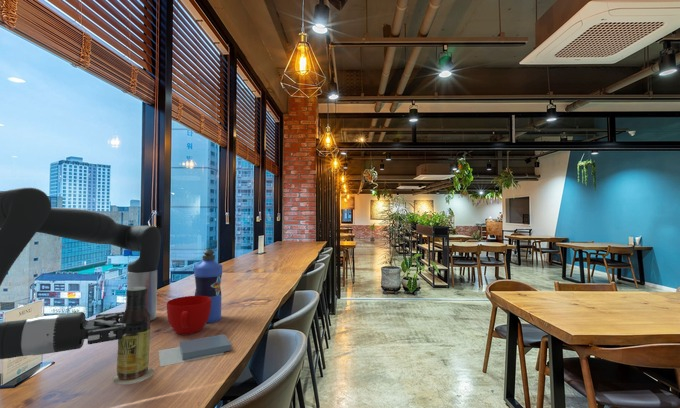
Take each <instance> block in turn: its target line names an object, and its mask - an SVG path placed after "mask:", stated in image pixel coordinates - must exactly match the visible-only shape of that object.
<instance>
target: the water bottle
mask: <svg viewBox="0 0 680 408" xmlns="http://www.w3.org/2000/svg"><path fill="white" fill-rule="evenodd" d="M214 253H215V251H214V250H213V249H212V248H206V249H205V250H204V251H203V255H202V262H201V263H199V264H196V265H194V280H195V281H194V282H195V292H194V296H207V297H210V298H211V309H210V315H209V318H208V320H207V322H206V324H213V323H216V322H219V321H220V320H221V319H222V289H221V282H222V276H223V264H220V263H219V262H216V261H215V260H216V255H215V254H214Z"/></svg>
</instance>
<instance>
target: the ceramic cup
mask: <svg viewBox="0 0 680 408" xmlns="http://www.w3.org/2000/svg"><path fill="white" fill-rule="evenodd" d="M210 309H211V298H210V297H207V296H195V295H186V296H180V297H179V296H178V297H176V298H173V299H169V300H168V301H167V302H166V315H167V320H168V323H169V325H170V327H171V329H172V330H173V331H174V332H175V333H176V334H178V335H181V336H186V335H193V334H197V333H199V332H200V331H202V329H203V328H204V327H205V325H206V324H207V323H206V322H207V320H208V318H209V315H210Z"/></svg>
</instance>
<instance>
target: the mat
mask: <svg viewBox="0 0 680 408" xmlns="http://www.w3.org/2000/svg"><path fill="white" fill-rule="evenodd" d="M220 355H225V353H224V352H220V353H215V354H210V355H205V356H200V357H195V358H190V359H184V360H182V356H181V352H180V348H179V346H178V347H177V346H176V347H172V348H171V347H170V348H166V349H165V348H164V349H160V350H159V349H158V358H159V366H160V368H161V367H165V366H170V365H176V364H180V363H186V362H192V361H195V360H200V359H206V358H210V357H215V356H220Z"/></svg>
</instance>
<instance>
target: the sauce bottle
mask: <svg viewBox="0 0 680 408" xmlns="http://www.w3.org/2000/svg"><path fill="white" fill-rule="evenodd" d="M125 292H126V293H125V297H126V296H127V306H126V305H125V309H124V311H123V312H124V314H123V317H122V320H121V322H120V323H127V324H128V323H132V322H139V321H146V322H147V330H146V331H145V332H138V333H132V334H127V335H126V336H123V338H122V339H120V340H117V355H116V356H117V360H116V362H117V363H116V371H117V373H116V375H117V376H118V378H119V379H121V380H132V379H135V378H138V377H141V376H142V375H144V374H145V373H146V372H147V371H148V367H149V361H150V360H149V359H150V343H151V342H150V340H151V339H150V338H151V321H150V314H149V313H148V311H147V309H146V307H145V305H146V304H145V299H146V293H147V288H146V287H131V288H128V289H127V288H126V291H125Z"/></svg>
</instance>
